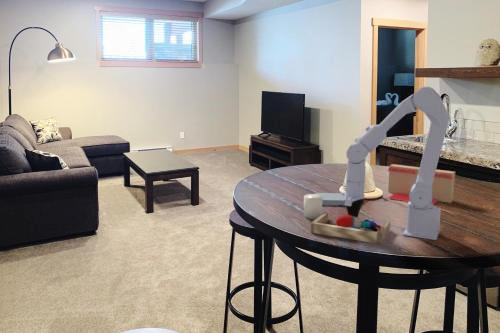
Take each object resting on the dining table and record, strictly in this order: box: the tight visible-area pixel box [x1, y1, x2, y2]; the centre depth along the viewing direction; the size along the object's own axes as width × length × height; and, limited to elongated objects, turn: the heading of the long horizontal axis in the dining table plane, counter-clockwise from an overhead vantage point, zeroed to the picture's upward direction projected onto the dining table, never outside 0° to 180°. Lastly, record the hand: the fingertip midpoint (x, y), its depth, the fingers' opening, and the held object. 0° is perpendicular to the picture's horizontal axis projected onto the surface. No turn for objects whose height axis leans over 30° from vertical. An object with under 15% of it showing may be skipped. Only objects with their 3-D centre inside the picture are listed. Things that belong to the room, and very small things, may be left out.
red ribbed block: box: [387, 163, 456, 205], centre depth 169 cm, size 25×13×12 cm, turn 50°
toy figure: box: [335, 214, 382, 232], centre depth 136 cm, size 8×5×15 cm
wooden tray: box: [310, 211, 391, 245], centre depth 135 cm, size 21×13×3 cm, turn 61°
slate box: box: [315, 192, 346, 207], centre depth 168 cm, size 14×10×2 cm
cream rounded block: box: [303, 193, 323, 220], centre depth 151 cm, size 6×6×7 cm
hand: (352, 221), depth 140 cm, fingers closed, pressing on toy figure
